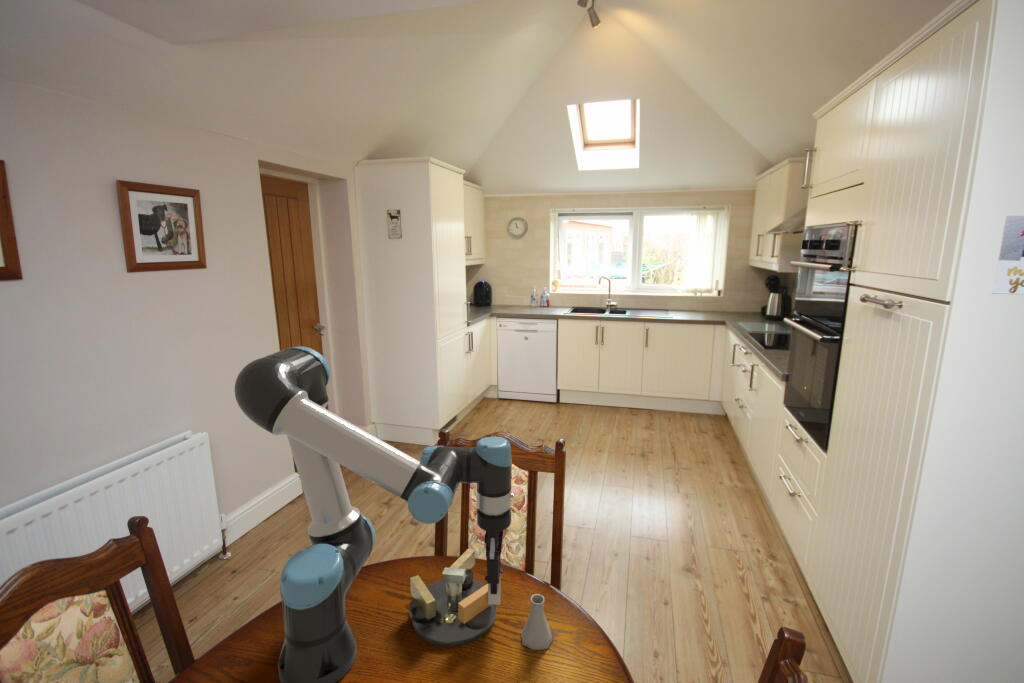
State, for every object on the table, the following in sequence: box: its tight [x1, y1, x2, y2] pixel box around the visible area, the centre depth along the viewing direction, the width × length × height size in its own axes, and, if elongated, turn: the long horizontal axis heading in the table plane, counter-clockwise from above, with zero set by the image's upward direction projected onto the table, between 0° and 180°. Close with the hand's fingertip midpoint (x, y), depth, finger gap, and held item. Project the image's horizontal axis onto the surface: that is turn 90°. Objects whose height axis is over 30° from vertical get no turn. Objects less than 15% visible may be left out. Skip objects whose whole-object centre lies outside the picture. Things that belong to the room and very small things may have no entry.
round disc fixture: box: [409, 547, 497, 648], centre depth 113 cm, size 20×22×11 cm
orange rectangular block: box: [458, 583, 492, 629], centre depth 108 cm, size 10×6×6 cm, turn 136°
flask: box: [520, 593, 554, 651], centre depth 105 cm, size 7×7×10 cm
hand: (494, 602), depth 108 cm, fingers closed
